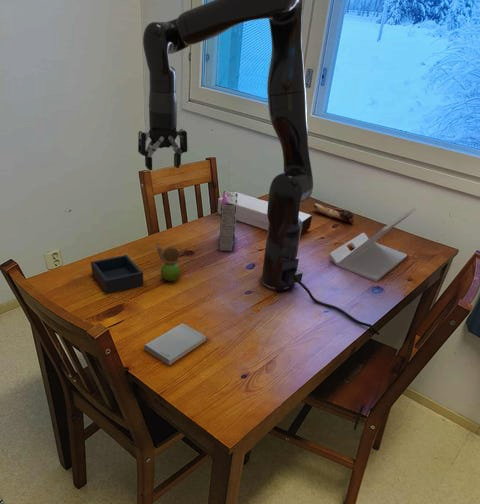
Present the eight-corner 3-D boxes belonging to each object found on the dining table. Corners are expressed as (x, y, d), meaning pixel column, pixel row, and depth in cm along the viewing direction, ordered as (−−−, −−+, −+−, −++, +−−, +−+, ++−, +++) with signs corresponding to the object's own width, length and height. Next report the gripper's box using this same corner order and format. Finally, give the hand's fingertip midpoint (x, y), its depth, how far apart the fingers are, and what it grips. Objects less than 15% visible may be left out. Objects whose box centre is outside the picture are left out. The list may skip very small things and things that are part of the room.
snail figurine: (156, 275, 134) (155, 238, 127) (177, 274, 136) (178, 237, 129) (159, 285, 130) (158, 247, 123) (181, 283, 131) (182, 245, 124)
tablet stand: (407, 256, 159) (422, 210, 150) (376, 281, 143) (391, 231, 133) (360, 239, 168) (372, 194, 158) (326, 260, 151) (337, 211, 141)
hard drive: (169, 360, 101) (206, 336, 110) (143, 344, 105) (181, 321, 113) (169, 366, 102) (206, 341, 111) (144, 350, 106) (181, 327, 114)
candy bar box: (220, 236, 159) (223, 190, 150) (234, 237, 159) (238, 191, 150) (218, 250, 150) (221, 202, 141) (233, 252, 150) (237, 204, 141)
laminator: (309, 230, 170) (312, 215, 167) (294, 241, 161) (297, 225, 158) (232, 206, 183) (233, 191, 180) (215, 215, 174) (216, 199, 171)
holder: (143, 285, 129) (143, 272, 126) (106, 294, 124) (105, 280, 121) (127, 267, 136) (126, 254, 134) (92, 274, 131) (90, 261, 129)
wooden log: (359, 221, 183) (320, 206, 191) (362, 210, 181) (323, 195, 189) (348, 226, 177) (309, 211, 185) (352, 215, 174) (312, 200, 182)
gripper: (143, 112, 119) (145, 174, 128) (192, 111, 126) (190, 170, 135) (132, 106, 124) (135, 166, 133) (180, 105, 131) (179, 162, 140)
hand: (163, 168), depth 134 cm, fingers open, 8 cm apart
